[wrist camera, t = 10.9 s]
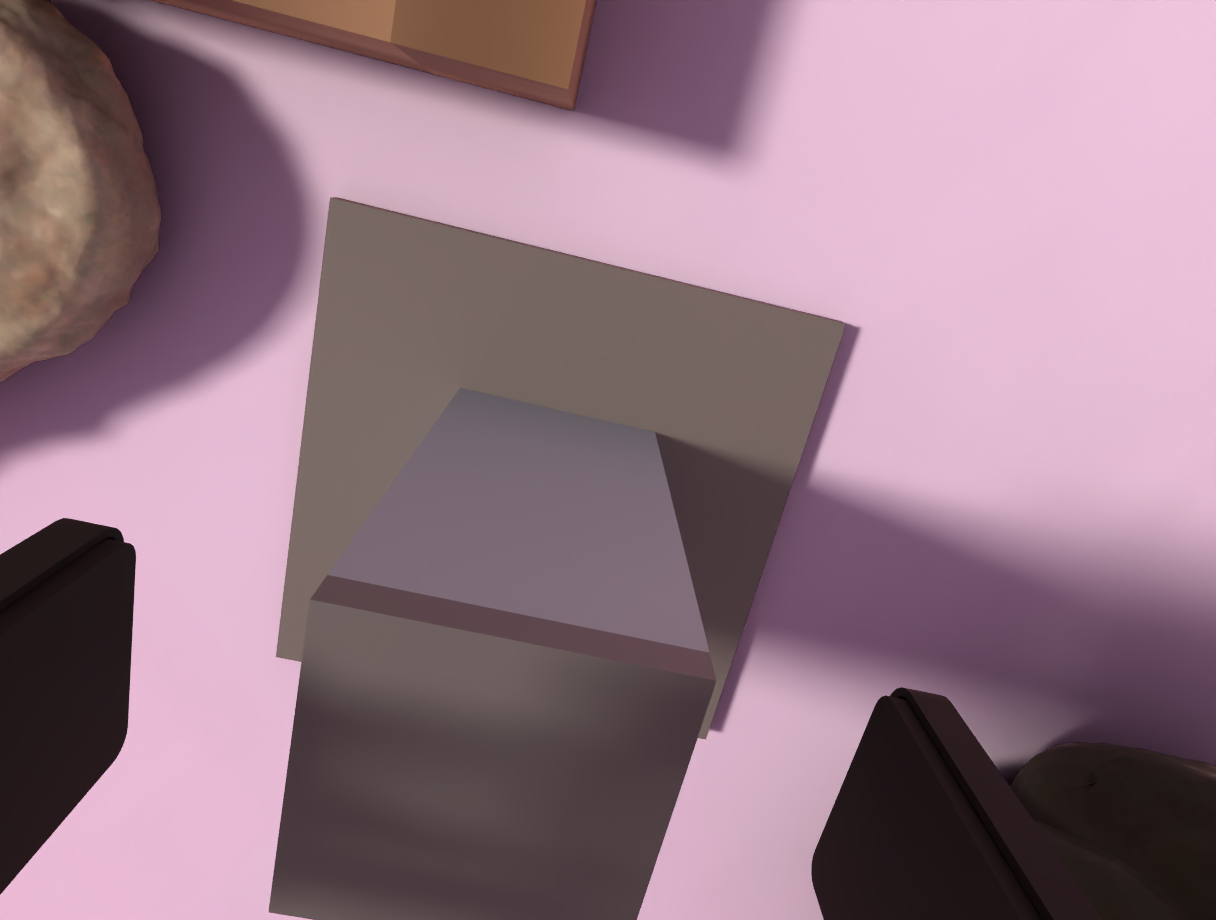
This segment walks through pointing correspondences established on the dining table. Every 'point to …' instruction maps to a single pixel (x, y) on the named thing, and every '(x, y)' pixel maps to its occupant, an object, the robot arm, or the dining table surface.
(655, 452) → the plug
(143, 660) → the dining table surface
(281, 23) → the socket block
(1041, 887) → the robot arm
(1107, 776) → the squash
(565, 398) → the coaster
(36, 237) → the brown bread loaf
